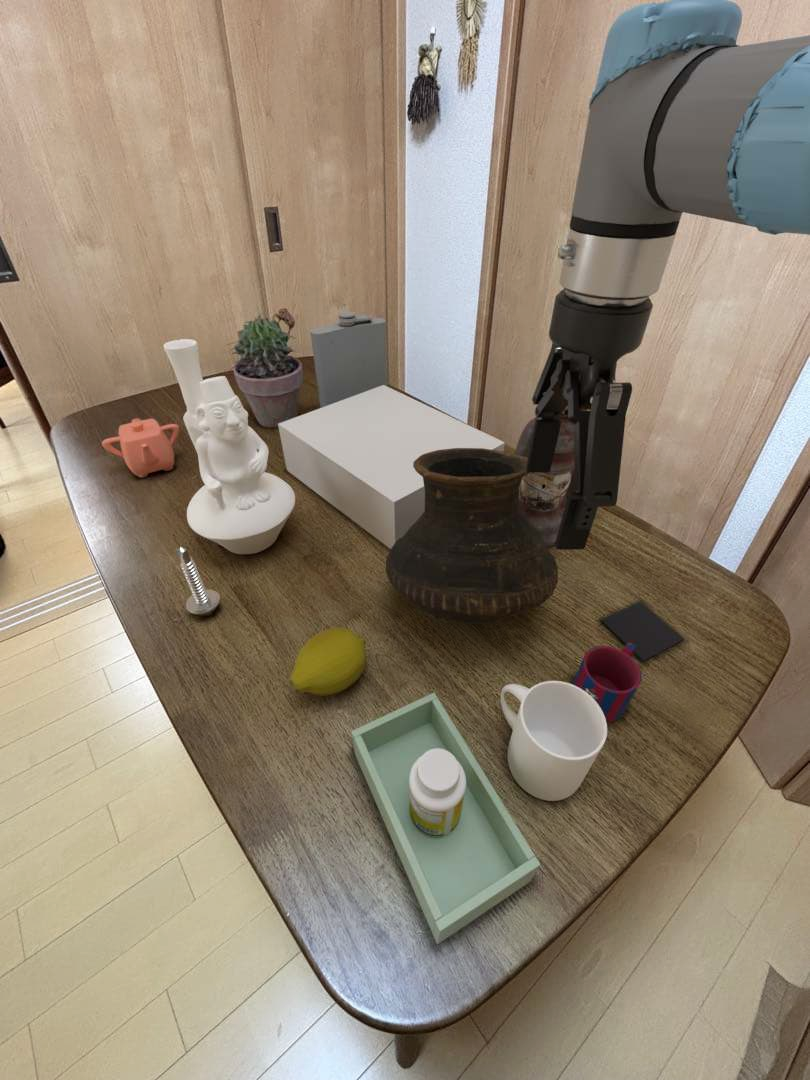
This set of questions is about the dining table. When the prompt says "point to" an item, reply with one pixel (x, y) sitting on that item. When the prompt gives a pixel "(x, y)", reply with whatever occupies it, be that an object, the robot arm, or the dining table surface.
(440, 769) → the supplement bottle
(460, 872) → the bin
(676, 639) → the coaster
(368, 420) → the box
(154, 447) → the teapot
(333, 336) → the flask
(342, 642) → the lemon
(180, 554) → the screw
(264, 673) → the dining table surface
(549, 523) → the lantern
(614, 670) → the cup
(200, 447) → the white sculpted figure
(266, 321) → the potted plant
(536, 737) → the mug
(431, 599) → the ceramic pot
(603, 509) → the dining table surface
